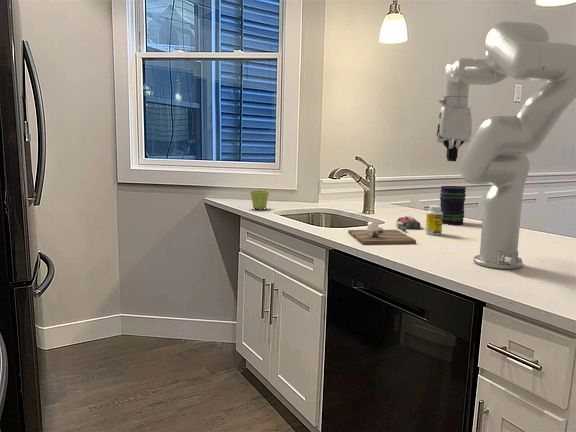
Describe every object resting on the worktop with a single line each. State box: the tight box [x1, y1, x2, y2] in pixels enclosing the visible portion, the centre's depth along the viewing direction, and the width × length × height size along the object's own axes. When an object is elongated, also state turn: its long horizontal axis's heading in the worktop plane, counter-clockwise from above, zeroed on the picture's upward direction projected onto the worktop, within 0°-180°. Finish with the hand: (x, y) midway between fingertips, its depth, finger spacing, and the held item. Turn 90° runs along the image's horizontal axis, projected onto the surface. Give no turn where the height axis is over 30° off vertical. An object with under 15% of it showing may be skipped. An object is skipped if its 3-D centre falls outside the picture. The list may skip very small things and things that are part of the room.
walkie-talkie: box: [395, 215, 421, 231], centre depth 190 cm, size 9×4×20 cm
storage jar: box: [439, 185, 467, 226], centre depth 201 cm, size 10×10×15 cm
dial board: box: [347, 229, 417, 246], centre depth 169 cm, size 19×18×1 cm
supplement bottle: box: [425, 205, 443, 236], centre depth 178 cm, size 6×6×10 cm
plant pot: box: [249, 189, 271, 210], centre depth 234 cm, size 9×9×9 cm
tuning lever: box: [367, 221, 384, 237], centre depth 169 cm, size 14×4×4 cm, turn 157°
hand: (451, 160), depth 159 cm, fingers closed
